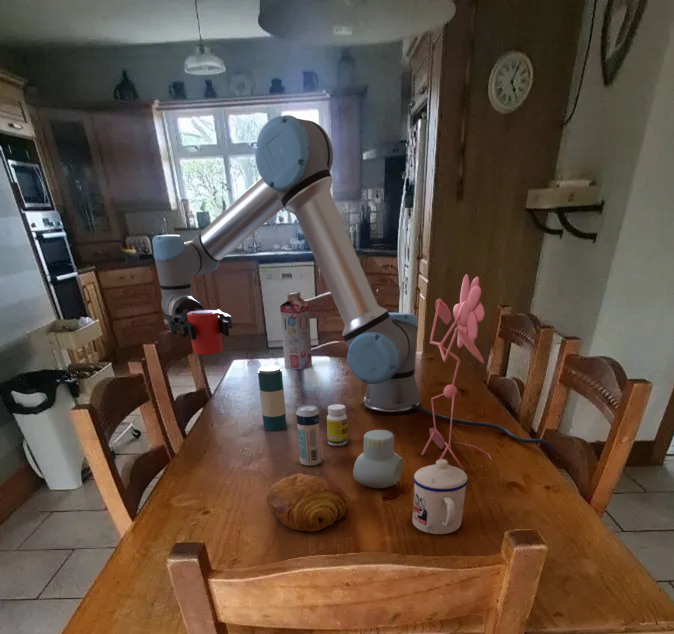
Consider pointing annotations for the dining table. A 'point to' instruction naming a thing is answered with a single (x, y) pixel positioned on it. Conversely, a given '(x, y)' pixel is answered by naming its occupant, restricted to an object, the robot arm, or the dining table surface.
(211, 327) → the cap
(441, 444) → the figurine
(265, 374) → the spray can
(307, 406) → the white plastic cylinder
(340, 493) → the croissant
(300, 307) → the juice carton
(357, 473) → the air freshener
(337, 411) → the supplement bottle
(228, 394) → the dining table surface
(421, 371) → the dining table surface
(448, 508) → the teacup with lid
